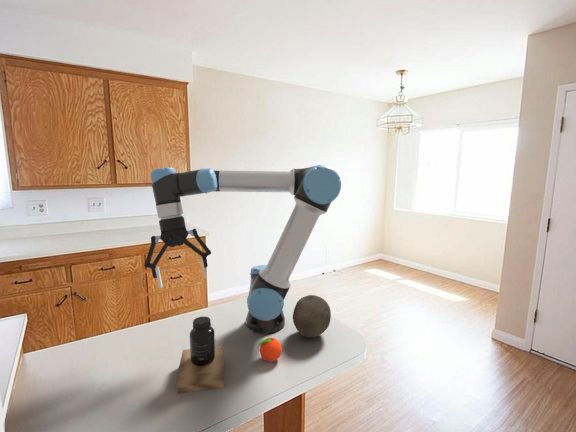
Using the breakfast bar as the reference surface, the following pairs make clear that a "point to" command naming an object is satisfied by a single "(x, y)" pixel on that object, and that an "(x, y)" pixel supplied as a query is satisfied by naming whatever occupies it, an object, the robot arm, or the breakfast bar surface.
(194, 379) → the walnut block
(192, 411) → the breakfast bar surface
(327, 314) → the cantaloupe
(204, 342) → the supplement bottle
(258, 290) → the robot arm
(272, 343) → the clementine
